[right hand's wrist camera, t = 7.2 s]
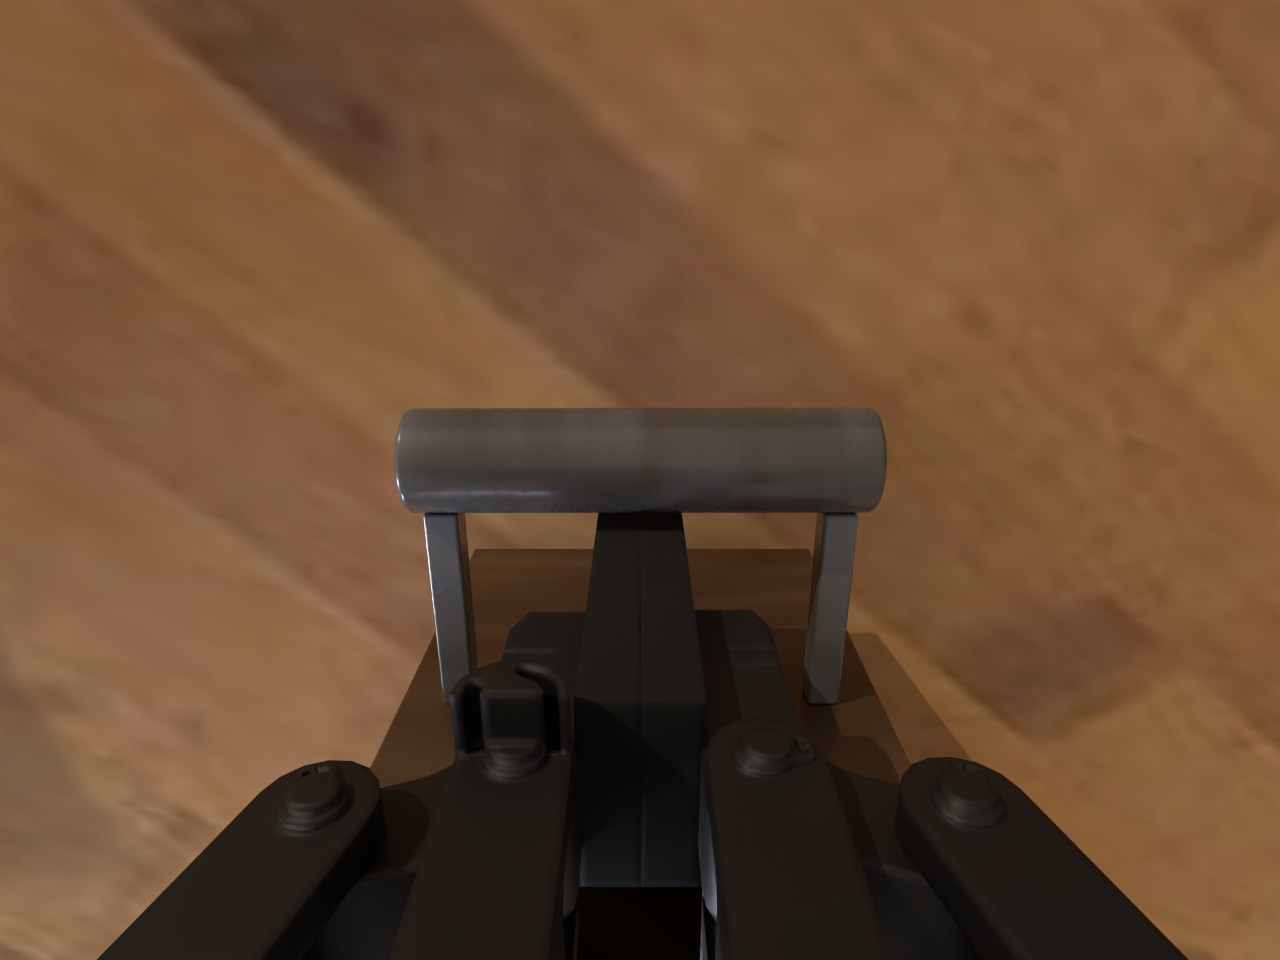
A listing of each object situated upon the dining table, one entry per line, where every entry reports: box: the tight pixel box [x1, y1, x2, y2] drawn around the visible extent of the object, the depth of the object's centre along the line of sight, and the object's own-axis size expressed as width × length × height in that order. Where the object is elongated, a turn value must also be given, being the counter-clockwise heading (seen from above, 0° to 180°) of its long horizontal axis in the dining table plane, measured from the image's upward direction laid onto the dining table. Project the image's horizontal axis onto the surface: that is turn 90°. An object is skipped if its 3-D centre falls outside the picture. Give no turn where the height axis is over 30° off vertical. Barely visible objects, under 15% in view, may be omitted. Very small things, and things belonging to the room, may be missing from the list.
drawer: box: [370, 408, 911, 960], centre depth 19 cm, size 24×9×9 cm, turn 0°
